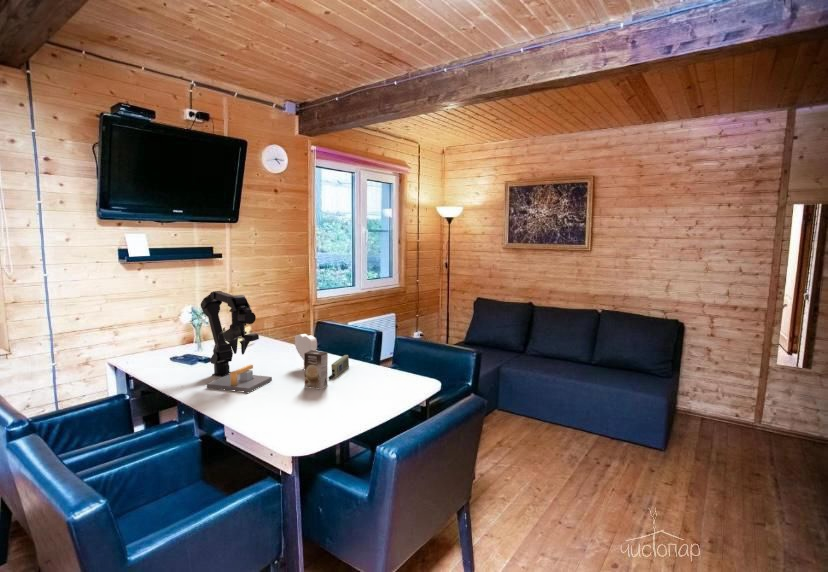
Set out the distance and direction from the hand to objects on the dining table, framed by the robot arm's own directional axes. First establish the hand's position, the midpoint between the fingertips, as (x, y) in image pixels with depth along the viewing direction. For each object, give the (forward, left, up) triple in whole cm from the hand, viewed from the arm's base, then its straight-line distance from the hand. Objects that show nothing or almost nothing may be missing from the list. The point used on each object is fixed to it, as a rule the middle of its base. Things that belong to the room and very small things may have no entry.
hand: (239, 354), depth 212 cm
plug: (+6, -3, -13) cm, 15 cm away
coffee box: (+39, +3, -13) cm, 41 cm away
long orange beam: (+6, -6, -11) cm, 14 cm away
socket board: (+4, -5, -13) cm, 14 cm away
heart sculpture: (+20, +28, -13) cm, 37 cm away
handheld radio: (+40, +26, -14) cm, 49 cm away
